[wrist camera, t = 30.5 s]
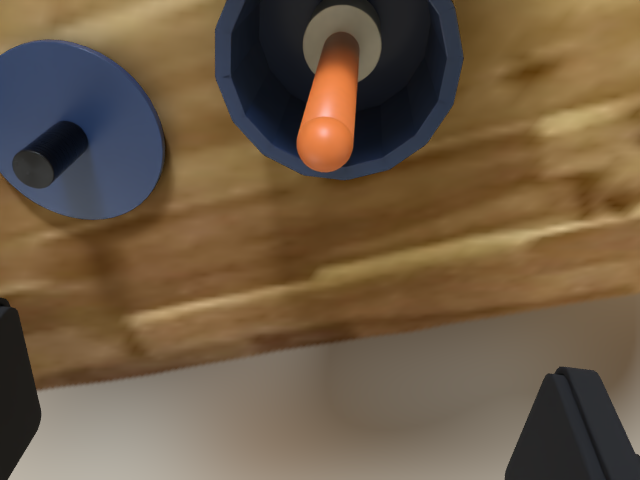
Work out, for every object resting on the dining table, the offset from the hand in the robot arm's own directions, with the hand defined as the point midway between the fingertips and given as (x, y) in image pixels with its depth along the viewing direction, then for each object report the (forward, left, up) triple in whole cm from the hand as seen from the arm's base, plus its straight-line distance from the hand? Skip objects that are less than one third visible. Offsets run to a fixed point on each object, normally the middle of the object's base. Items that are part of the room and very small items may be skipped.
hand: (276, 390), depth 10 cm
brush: (0, 0, -30) cm, 30 cm away
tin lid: (+9, -18, -30) cm, 36 cm away
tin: (0, 0, -30) cm, 30 cm away
